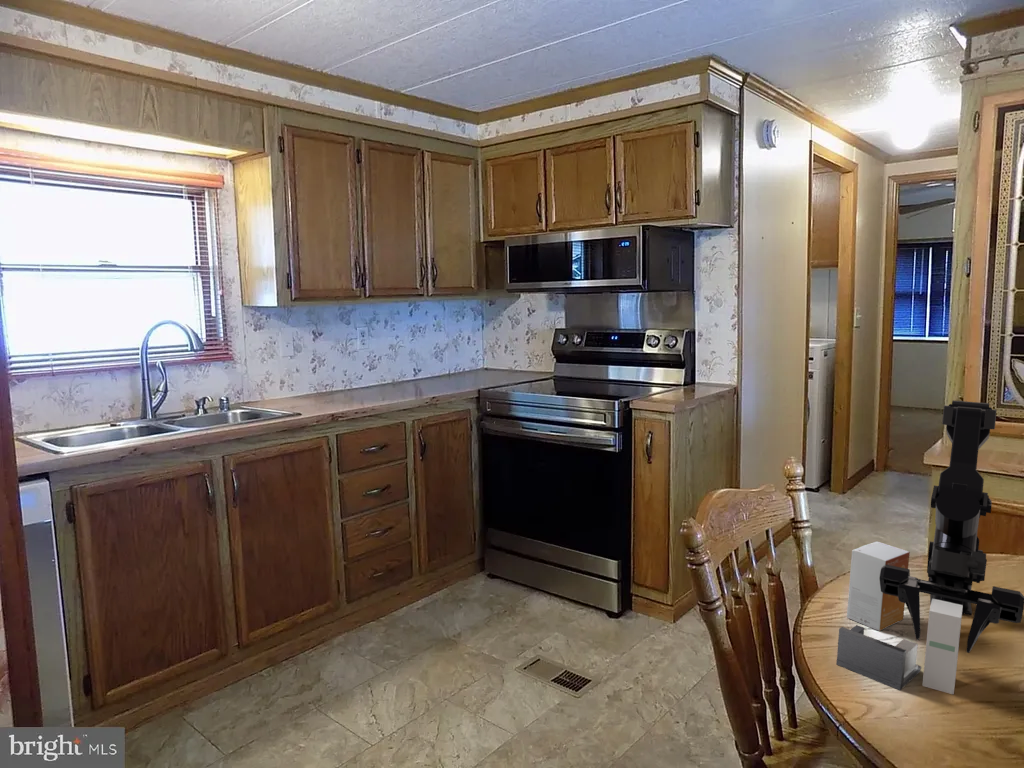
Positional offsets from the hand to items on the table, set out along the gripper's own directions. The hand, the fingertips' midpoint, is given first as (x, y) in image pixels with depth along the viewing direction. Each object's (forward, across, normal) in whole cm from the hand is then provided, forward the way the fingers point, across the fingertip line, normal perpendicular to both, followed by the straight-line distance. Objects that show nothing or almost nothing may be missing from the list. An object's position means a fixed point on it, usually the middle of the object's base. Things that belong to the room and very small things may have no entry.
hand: (942, 645), depth 105 cm
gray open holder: (+4, -8, +5) cm, 11 cm away
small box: (-8, -11, +18) cm, 23 cm away
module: (+4, 0, +6) cm, 7 cm away
